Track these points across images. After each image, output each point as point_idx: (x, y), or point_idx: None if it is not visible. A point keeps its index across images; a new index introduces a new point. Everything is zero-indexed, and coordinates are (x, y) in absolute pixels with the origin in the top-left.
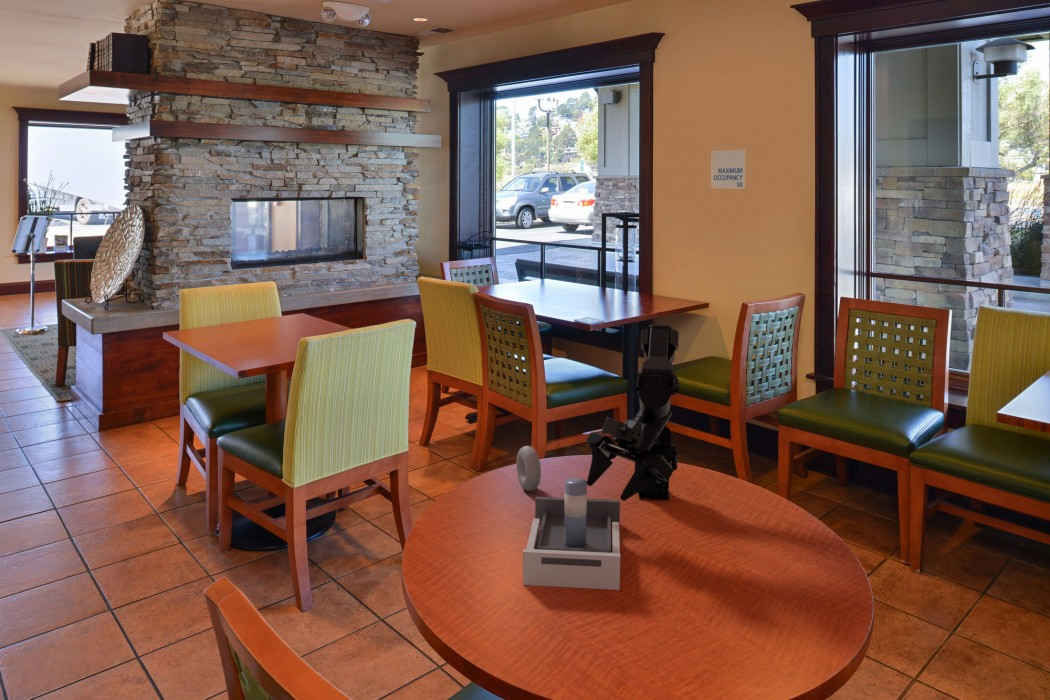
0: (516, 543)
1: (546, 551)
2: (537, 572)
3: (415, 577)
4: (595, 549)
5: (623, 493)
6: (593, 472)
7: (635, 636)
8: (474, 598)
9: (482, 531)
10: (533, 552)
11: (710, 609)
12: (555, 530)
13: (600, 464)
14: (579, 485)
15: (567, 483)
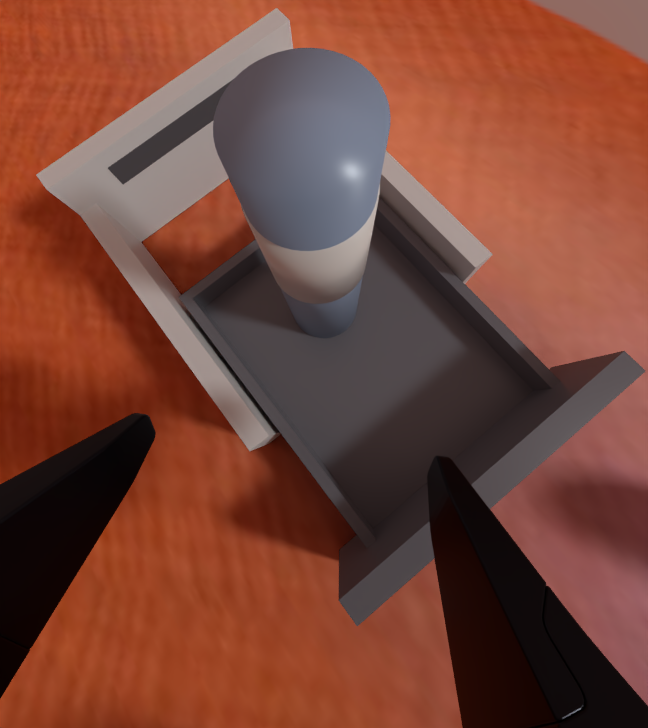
0: None
1: (226, 51)
2: None
3: None
4: (219, 274)
5: (111, 428)
6: (465, 540)
7: (9, 138)
8: (325, 22)
9: (595, 216)
10: (251, 25)
11: None
12: (430, 331)
13: (504, 705)
14: (227, 87)
15: (322, 55)
